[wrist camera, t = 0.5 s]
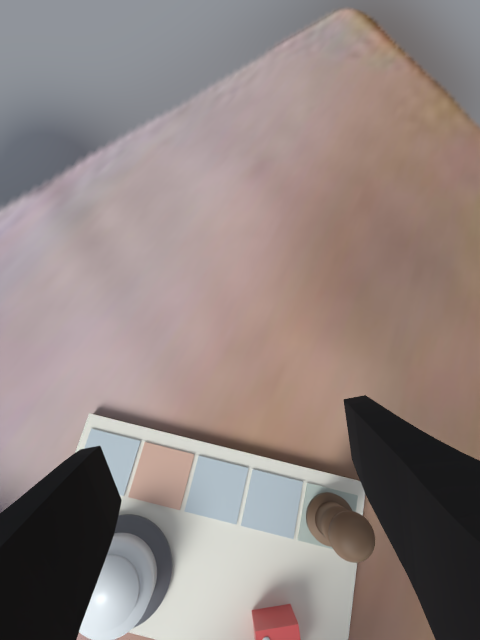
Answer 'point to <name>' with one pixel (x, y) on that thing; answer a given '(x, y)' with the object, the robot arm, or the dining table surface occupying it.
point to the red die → (275, 623)
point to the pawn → (340, 527)
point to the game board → (225, 534)
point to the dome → (121, 589)
